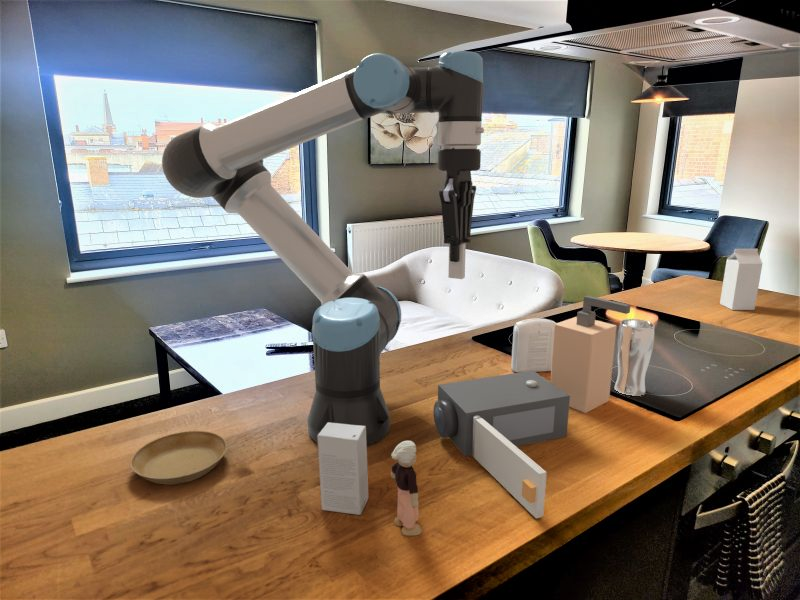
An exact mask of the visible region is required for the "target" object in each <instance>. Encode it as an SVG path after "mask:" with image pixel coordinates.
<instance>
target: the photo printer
mask: <svg viewBox="0 0 800 600" xmlns="http://www.w3.org/2000/svg"><path fill="white" fill-rule="evenodd" d="M556 323H557V322H555V321H554V320H552V319H547V318H539V317H537V318H527V319H523V320H519V321H517V322H515V323H514V326H513V332H512V334H513V336H512V346H511V348H512V349H511V362H510V363H511V364H510V365H511V366H510V368H511V371H512V372H513V373H514V372H515V373H519V372H526V371H535V372H536V373H538V372H539V373H540V372H551V368H552V354H553V340H554V327H555V324H556Z"/></svg>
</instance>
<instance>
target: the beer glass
mask: <svg viewBox="0 0 800 600" xmlns="http://www.w3.org/2000/svg"><path fill="white" fill-rule="evenodd" d="M655 326H656V325H655V324H654V323H653V322H650V321H648V320H645V319H637V318H625V319H621V320H620V321H619V327H618V332H617V339H616V357H617V359H616V360H617V378H616V382H615V383H614V390H616V391H618V392H619V393H622V394H626V395H632V396H640V397H642V396H641V395H643V396H644V395H646V380H645V379H646V374H647V370H648V368H649V364H650V360H651V358H652V355H653V352H654V351H653V349H654V346H655V345H654V344H655V343H654V342H655ZM616 391H615V392H616ZM618 392H617V393H618ZM619 393H618V394H619ZM622 394H621V395H622Z"/></svg>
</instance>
